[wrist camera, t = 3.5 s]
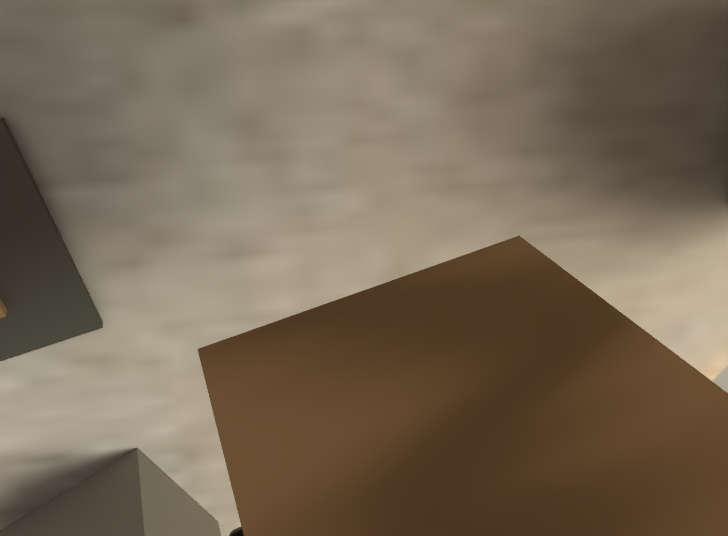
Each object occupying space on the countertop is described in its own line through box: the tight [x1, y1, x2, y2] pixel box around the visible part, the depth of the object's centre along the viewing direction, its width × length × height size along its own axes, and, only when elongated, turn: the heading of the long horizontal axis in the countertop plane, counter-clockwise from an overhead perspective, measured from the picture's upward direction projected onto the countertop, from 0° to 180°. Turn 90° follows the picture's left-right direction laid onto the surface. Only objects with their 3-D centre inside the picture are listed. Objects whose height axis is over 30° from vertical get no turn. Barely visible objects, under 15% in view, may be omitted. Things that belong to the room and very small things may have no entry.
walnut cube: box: [198, 236, 728, 536], centre depth 8 cm, size 5×5×5 cm
